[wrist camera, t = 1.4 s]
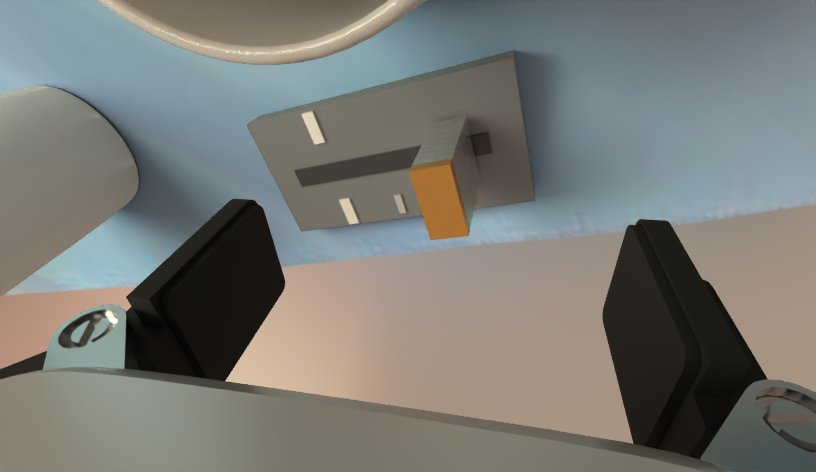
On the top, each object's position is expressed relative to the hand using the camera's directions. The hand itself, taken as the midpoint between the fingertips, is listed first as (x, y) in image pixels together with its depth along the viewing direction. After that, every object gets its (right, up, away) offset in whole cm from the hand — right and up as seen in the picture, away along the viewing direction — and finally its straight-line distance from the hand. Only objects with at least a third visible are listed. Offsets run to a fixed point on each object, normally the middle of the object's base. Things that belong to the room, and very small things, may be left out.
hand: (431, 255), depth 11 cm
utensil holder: (-35, +10, +33) cm, 49 cm away
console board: (-2, +8, +24) cm, 26 cm away
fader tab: (+3, +7, +20) cm, 22 cm away
